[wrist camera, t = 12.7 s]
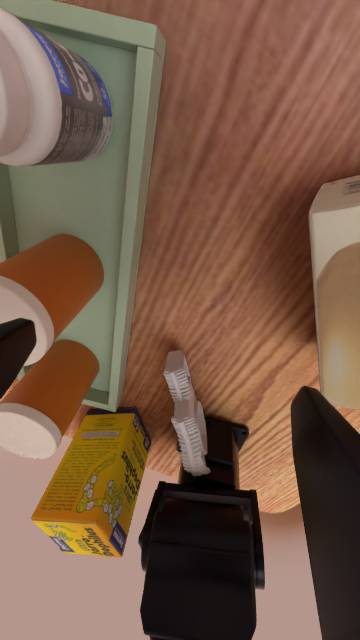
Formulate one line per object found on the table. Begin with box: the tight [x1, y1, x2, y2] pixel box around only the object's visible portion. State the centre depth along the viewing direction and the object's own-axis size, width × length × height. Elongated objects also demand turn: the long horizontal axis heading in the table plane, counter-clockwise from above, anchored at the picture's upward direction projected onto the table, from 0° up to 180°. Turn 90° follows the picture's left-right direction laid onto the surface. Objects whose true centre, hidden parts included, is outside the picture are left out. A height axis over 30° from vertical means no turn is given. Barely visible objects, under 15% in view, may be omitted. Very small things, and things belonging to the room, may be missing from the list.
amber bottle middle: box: [0, 234, 104, 366], centre depth 17 cm, size 5×5×8 cm
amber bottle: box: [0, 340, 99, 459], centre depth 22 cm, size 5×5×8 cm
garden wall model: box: [163, 350, 211, 476], centre depth 23 cm, size 12×2×6 cm, turn 14°
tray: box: [0, 0, 166, 412], centre depth 20 cm, size 27×10×2 cm, turn 169°
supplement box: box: [31, 407, 151, 557], centre depth 27 cm, size 6×6×11 cm
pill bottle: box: [0, 8, 114, 167], centre depth 12 cm, size 5×5×8 cm
